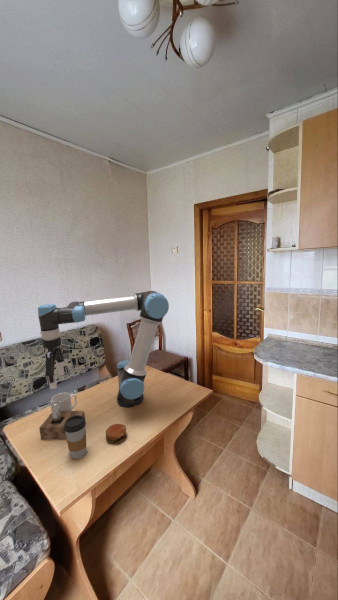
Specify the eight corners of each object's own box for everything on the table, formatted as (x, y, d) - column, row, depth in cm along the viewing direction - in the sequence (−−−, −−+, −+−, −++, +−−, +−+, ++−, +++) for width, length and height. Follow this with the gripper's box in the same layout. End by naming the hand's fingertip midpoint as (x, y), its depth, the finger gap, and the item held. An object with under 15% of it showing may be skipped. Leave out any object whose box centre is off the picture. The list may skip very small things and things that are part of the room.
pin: (64, 425, 118) (60, 401, 117) (60, 429, 115) (56, 405, 113) (56, 425, 118) (53, 401, 117) (52, 430, 115) (49, 406, 113)
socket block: (85, 421, 123) (84, 410, 122) (75, 438, 112) (74, 426, 111) (54, 422, 124) (52, 411, 123) (41, 439, 112) (39, 427, 111)
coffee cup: (71, 447, 107) (67, 415, 104) (90, 445, 107) (87, 413, 105) (64, 462, 98) (60, 428, 96) (86, 460, 99) (82, 426, 97)
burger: (103, 434, 114) (102, 425, 113) (123, 427, 118) (122, 418, 117) (109, 448, 105) (108, 438, 104) (130, 440, 109) (129, 430, 109)
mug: (57, 424, 122) (55, 403, 121) (51, 416, 129) (48, 397, 127) (81, 413, 130) (78, 394, 129) (74, 407, 137) (72, 388, 135)
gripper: (50, 331, 124) (56, 371, 128) (32, 348, 100) (40, 396, 103) (66, 329, 125) (71, 369, 129) (51, 346, 101) (58, 393, 105)
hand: (57, 381), depth 116 cm, fingers open, 13 cm apart
